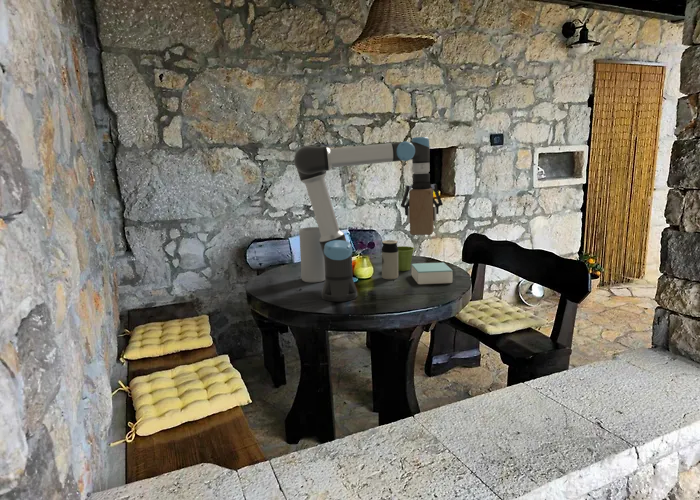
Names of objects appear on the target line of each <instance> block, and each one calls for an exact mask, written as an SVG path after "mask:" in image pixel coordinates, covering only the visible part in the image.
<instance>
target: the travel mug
mask: <svg viewBox="0 0 700 500" xmlns="http://www.w3.org/2000/svg"><path fill="white" fill-rule="evenodd" d="M381 242H382V247H381V278H383V279H385V280H396V279H398V278H399V270H398V247H399V246H398V241H397V240H396V239H395V240H393V239H386V240H381Z"/></svg>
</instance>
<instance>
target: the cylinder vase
mask: <svg viewBox="0 0 700 500" xmlns="http://www.w3.org/2000/svg"><path fill="white" fill-rule="evenodd" d="M298 230H299V231H298V233H299V249H300V251H299V252H300V253H299V254H300V270H301V272H300V273H301V274H300V275H301V281H302V282H304V283H313V284H314V283H321V282H325V260H324V255H323V252H322V248H321V245H320V242H319V239H320V237H321V233H320V230H319V227H318V226H313V227H312V226H310V227H308V226H307V227H301V228H299V229H298Z"/></svg>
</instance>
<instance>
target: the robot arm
mask: <svg viewBox="0 0 700 500" xmlns="http://www.w3.org/2000/svg"><path fill="white" fill-rule="evenodd" d="M430 148H431V146H430V139H429V137H428V136H416V137H415V136H414V137H412V138H411V141H404V140H403V141H398V142H390V143H376V144H369V145H368V144H366V145H355V146H354V145H353V146H344V147H335V148H330V147H328V146H311V145H304V146H301V147H300V148H299V149H298V150H297V151H296V152H295V154H294V158H293V161H294V162H293V163H294V165H295V168H296V170H297V174H298V177H299V180H300V182H301V183H303V184H305V187H306V191H307V194H308V198H309V200H310V204H311V208H312V210H313V213H314V217H315V220H316V223H317V227H319V230H320V233H321V237H320V239H319V242H320V245H321V248H322V252H323V255H324V260H325V281H323V286H322V289H321V298H322V299H323V300H324V301H327V302H338V303H339V302H340V303H341V302H347V301H348V302H349V301H353V300H355V299H356V298H357V297H358V289H357V287H356V284H355V282H354V279H353V278H354V277H353V247H352V244H351V242H349V241H347V238H346V236H345V232H344V231H342V230H340V227H339V224H338V220H337V217H336V213H335V210H334V207H333V204H332V200H331V196H330V193H329V191H328V186H327V183H326V181H325V177H326V176H327V172H329V171H331V169H333V168H341V167H342V168H344V167H352V166H361V165H362V166H363V165H372V164H373V165H375V164H381V163H383V164H384V163H392V162H393V163H394V162H395V163H396V162H408V161H412V170H411V171H412V173H413V174H412V184H411V185H405V192H404V195H403V198H402V200H401V203H400V207H401V208H403V209H404V215H405V216H406V217H407V218H406V219H407V222H406V223H407V224H410V211H409V199H408V197H409V191H410V190H411V189H430V188H432V189H433V193H434V194H435V197H436V199H435V198H434V197H433V220H434V223H437V215H439V209H440V208H439V207H440V206H443V201H442V197H441V195H440V193H439V190H438V184H436V183H433V184H432V183H431V180H430V178H431V174H430V173H429V172H430V170H431V169H430V166H431V165H430V151H431V149H430ZM407 199H408V200H407ZM436 200H437V201H436Z"/></svg>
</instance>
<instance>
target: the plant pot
mask: <svg viewBox="0 0 700 500" xmlns="http://www.w3.org/2000/svg"><path fill="white" fill-rule="evenodd" d="M397 247H398V272H405V271H410V270H411V268H412V261H413V260H412V259H413V254H414V250H415V247H412V246H405V245H403V246H397Z"/></svg>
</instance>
